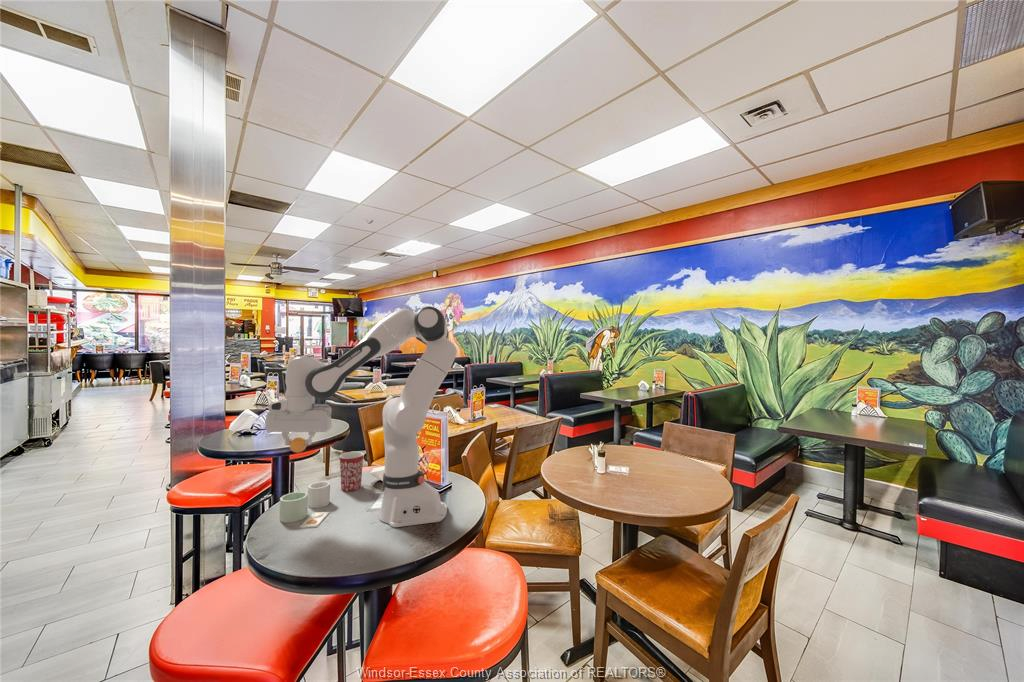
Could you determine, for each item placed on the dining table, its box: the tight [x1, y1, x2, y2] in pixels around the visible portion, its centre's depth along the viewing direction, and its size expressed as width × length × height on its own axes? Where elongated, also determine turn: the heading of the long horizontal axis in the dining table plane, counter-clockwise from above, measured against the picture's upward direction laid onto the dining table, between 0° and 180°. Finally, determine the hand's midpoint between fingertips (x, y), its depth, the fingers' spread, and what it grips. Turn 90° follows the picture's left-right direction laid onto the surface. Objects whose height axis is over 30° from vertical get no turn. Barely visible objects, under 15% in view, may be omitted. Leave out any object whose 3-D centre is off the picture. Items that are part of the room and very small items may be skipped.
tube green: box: [279, 491, 309, 524], centre depth 122 cm, size 8×8×7 cm
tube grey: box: [307, 481, 331, 509], centre depth 133 cm, size 7×7×7 cm
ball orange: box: [289, 436, 308, 453], centre depth 124 cm, size 5×5×5 cm
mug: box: [338, 451, 365, 493], centre depth 149 cm, size 13×9×14 cm
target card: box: [299, 511, 330, 529], centre depth 120 cm, size 5×10×1 cm, turn 6°
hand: (298, 444), depth 124 cm, fingers closed on ball orange, 5 cm apart
